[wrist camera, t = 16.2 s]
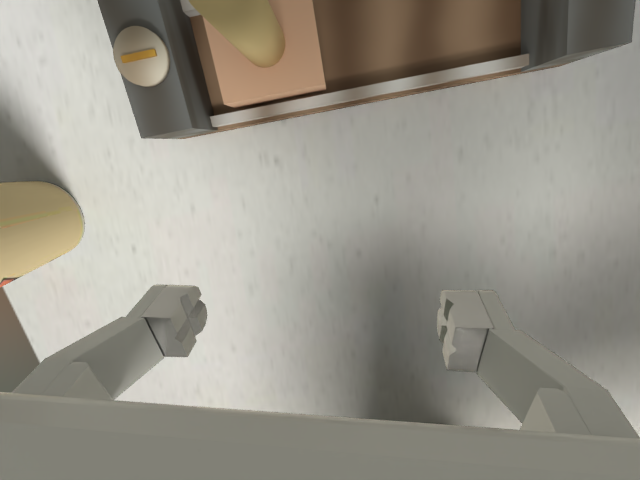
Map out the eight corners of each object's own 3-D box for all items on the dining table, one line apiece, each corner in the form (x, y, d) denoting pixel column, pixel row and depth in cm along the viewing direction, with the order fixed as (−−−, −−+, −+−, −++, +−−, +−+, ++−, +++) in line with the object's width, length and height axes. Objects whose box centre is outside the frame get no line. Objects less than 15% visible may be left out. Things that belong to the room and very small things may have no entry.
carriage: (311, -7, 25) (289, -147, 13) (326, 89, 27) (319, 47, 15) (213, 15, 26) (104, -98, 14) (235, 108, 28) (156, 81, 16)
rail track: (564, -77, 25) (662, -170, 17) (559, 66, 28) (643, 38, 20) (149, 19, 28) (82, -25, 21) (183, 138, 31) (134, 138, 23)
